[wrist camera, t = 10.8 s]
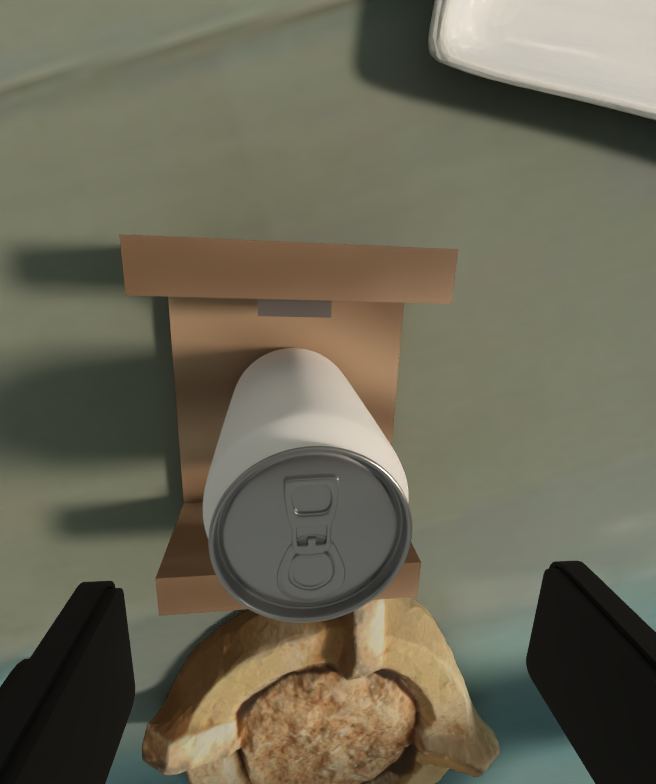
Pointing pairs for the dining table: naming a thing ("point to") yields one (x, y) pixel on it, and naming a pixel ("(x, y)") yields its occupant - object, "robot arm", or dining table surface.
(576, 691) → the robot arm
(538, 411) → the dining table surface
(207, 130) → the dining table surface
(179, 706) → the ashtray
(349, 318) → the holder
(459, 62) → the square plate
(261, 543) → the can
